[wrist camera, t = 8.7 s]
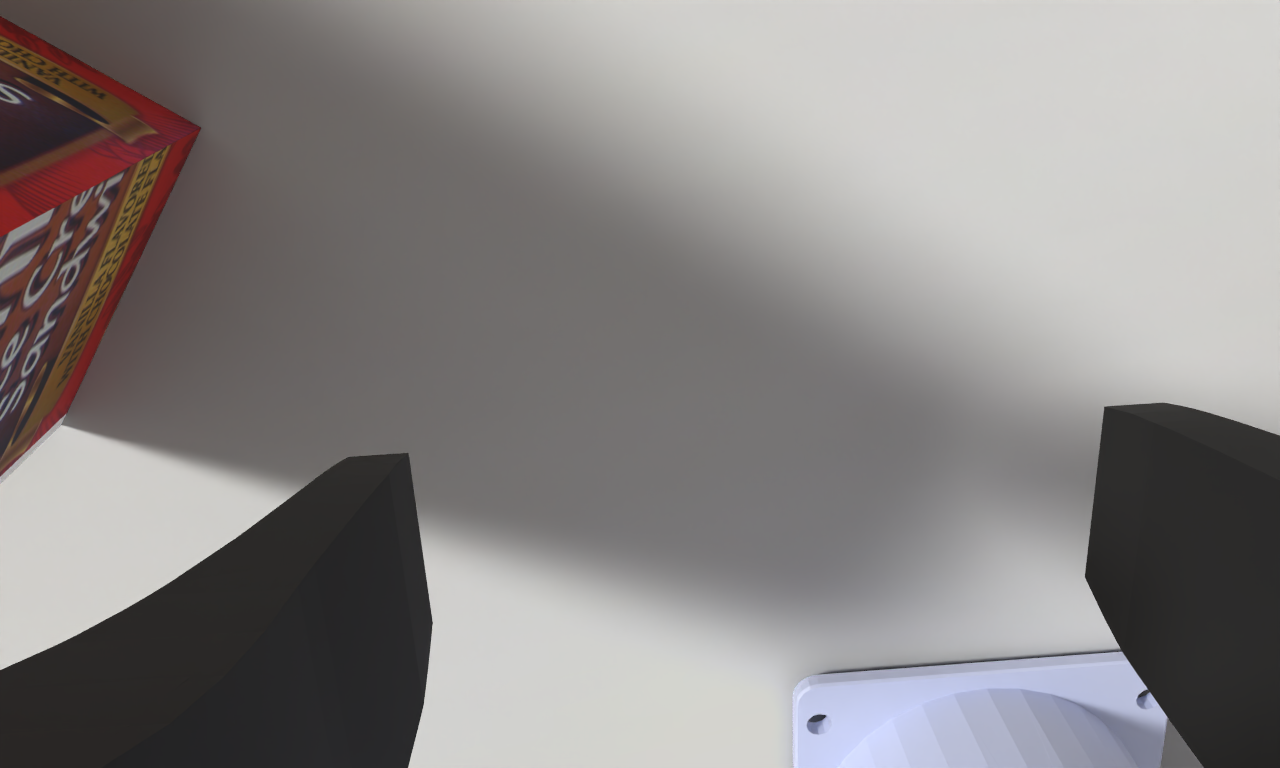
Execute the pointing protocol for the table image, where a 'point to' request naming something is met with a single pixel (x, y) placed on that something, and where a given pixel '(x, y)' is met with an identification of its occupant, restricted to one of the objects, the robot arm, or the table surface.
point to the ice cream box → (69, 222)
